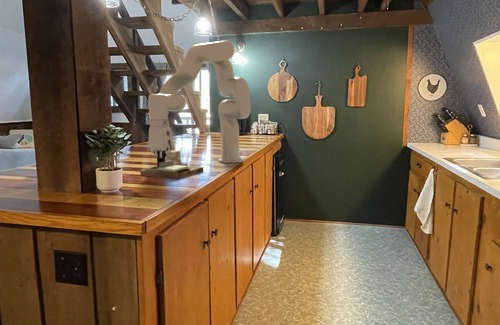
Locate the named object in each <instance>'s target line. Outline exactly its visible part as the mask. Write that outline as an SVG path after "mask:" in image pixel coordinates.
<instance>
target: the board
mask: <svg viewBox="0 0 500 325" xmlns="http://www.w3.org/2000/svg"><path fill="white" fill-rule="evenodd" d="M181 165H182V166H188V168H186V169H183V170H179V171H175V172H172V171H163V170H158V169H157V168H159V167H157V165H155V166H150V167H147V168H144V169H141V170H139V171H140V176H144V177H145V176H147V177H154V178H163V179H170V180H180V179H183V178H186V177H190V176H193V175H197V174H200V173H203V172H204V167H203V166H193V165H188V163H185V162H184V163H183V162H181Z"/></svg>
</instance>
